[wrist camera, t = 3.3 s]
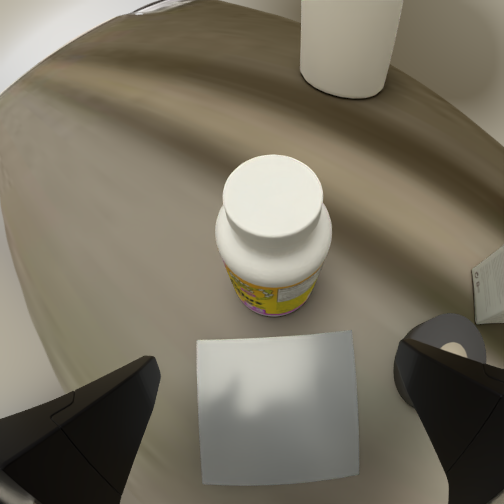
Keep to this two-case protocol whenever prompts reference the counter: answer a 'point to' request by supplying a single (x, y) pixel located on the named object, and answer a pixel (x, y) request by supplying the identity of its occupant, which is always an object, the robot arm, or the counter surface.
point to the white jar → (348, 44)
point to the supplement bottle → (273, 233)
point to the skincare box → (489, 288)
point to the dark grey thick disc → (446, 341)
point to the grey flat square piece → (277, 409)
